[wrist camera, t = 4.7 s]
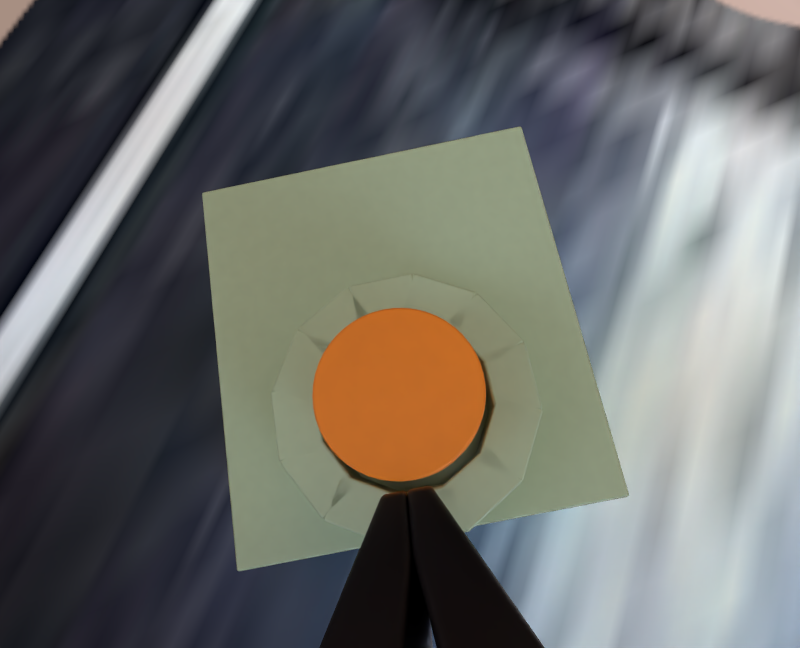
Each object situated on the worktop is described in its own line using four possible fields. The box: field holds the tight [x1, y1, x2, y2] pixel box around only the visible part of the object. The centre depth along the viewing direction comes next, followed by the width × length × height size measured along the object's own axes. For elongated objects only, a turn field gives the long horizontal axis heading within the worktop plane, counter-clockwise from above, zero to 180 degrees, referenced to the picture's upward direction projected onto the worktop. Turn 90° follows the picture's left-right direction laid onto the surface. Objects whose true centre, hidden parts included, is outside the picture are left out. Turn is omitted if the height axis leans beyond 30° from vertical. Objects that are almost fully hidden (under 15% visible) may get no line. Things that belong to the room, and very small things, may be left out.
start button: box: [312, 308, 486, 482], centre depth 13 cm, size 4×4×2 cm
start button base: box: [202, 127, 629, 571], centre depth 18 cm, size 12×11×7 cm
